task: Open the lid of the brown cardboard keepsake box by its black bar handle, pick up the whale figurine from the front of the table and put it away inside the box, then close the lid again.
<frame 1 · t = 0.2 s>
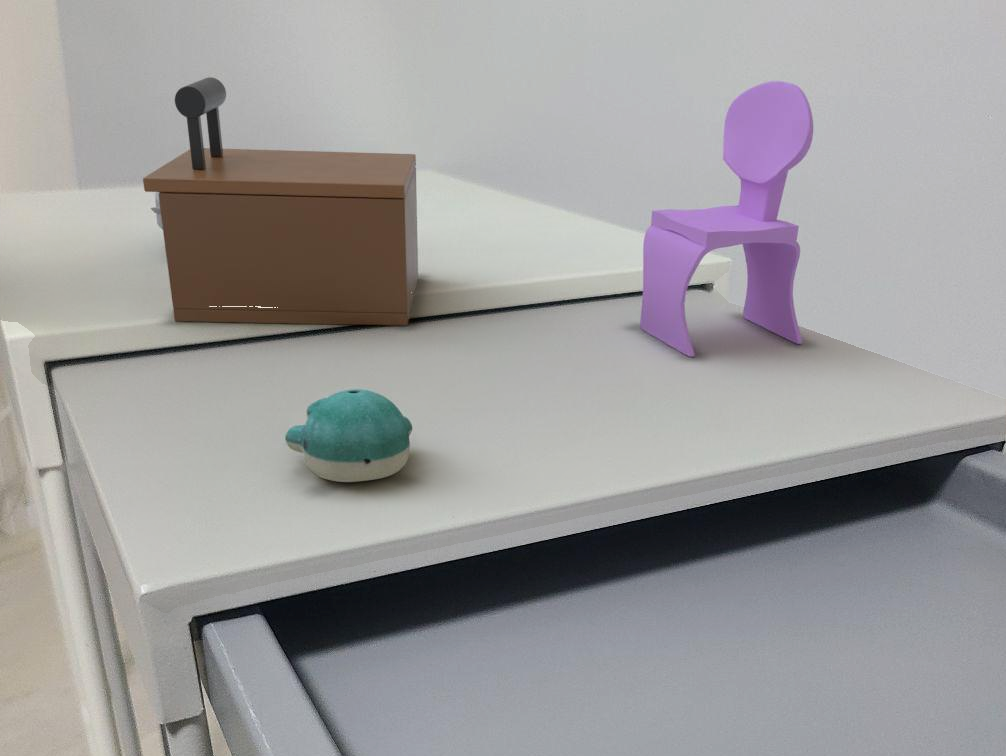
toy chair: (716, 339, 68), on the cabinet
shoebox: (305, 297, 73), on the cabinet
shoebox lid: (288, 132, 68), point 11 cm above the cabinet, hinge at 0.0°
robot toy: (258, 247, 86), on the cabinet
whale figurine: (351, 462, 50), on the cabinet
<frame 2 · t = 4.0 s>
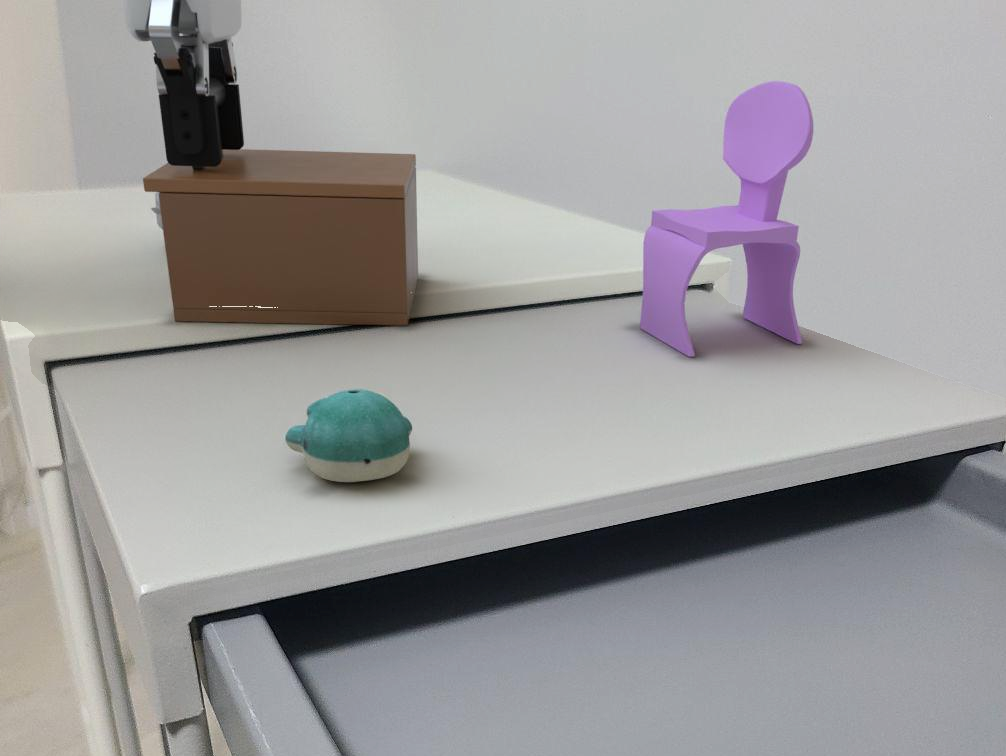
hand: (207, 153, 68), 9 cm above the cabinet, tool pointing down, fingers closed on shoebox lid, 6 cm apart
shoebox lid: (288, 132, 68), point 11 cm above the cabinet, hinge at 0.0°, touching gripper
everything else where it was.
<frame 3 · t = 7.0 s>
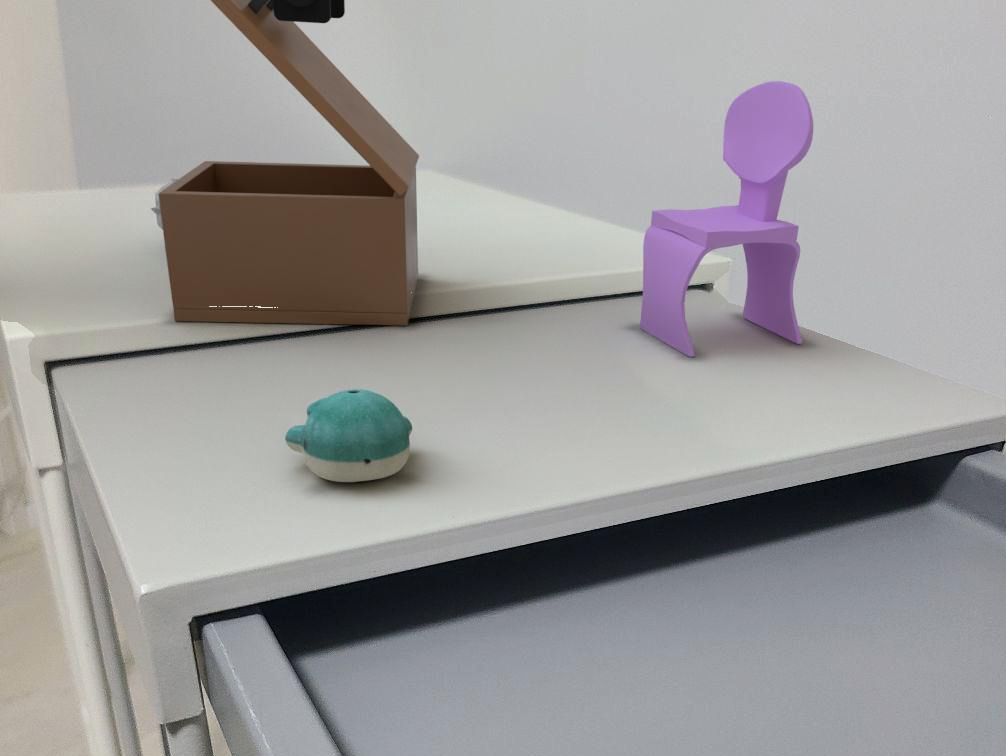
hand: (311, 16, 65), 17 cm above the cabinet, tool pointing down, fingers closed on shoebox lid, 6 cm apart
shoebox lid: (347, 52, 66), point 15 cm above the cabinet, hinge at 45.3°, touching gripper
everything else where it was.
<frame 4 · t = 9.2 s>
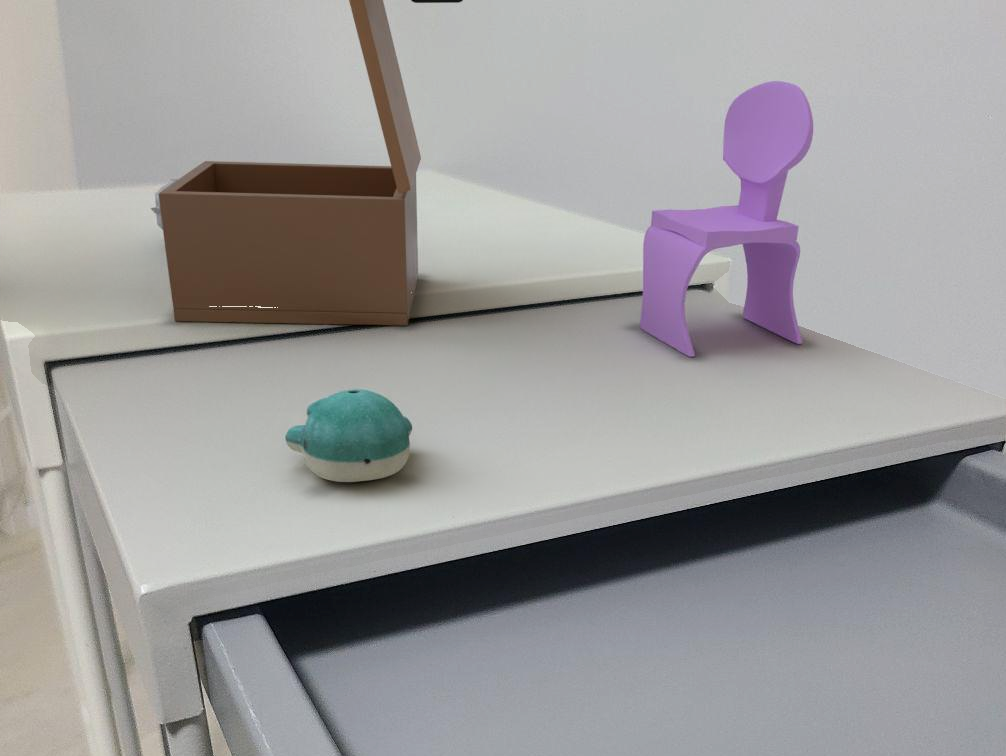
shoebox lid: (416, 38, 66), point 16 cm above the cabinet, hinge at 76.7°, touching gripper
everything else where it was.
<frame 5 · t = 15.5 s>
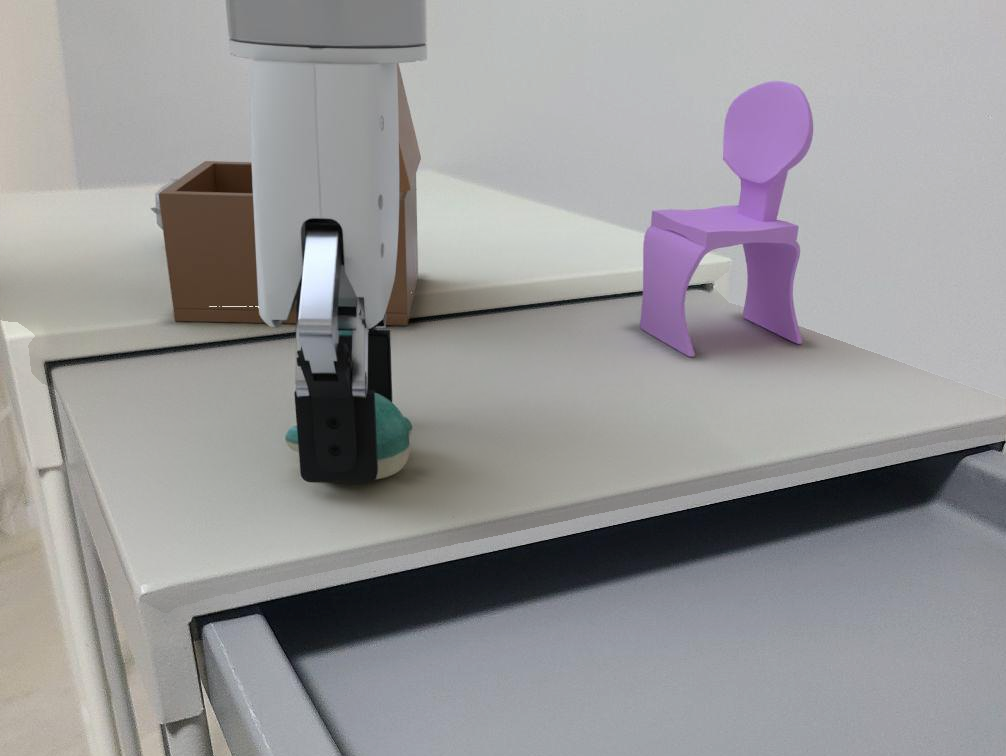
hand: (350, 440, 49), 1 cm above the cabinet, tool pointing down, fingers closed on whale figurine, 7 cm apart
shoebox lid: (417, 38, 66), point 16 cm above the cabinet, hinge at 76.9°
whale figurine: (351, 462, 50), on the cabinet, touching gripper
everything else where it was.
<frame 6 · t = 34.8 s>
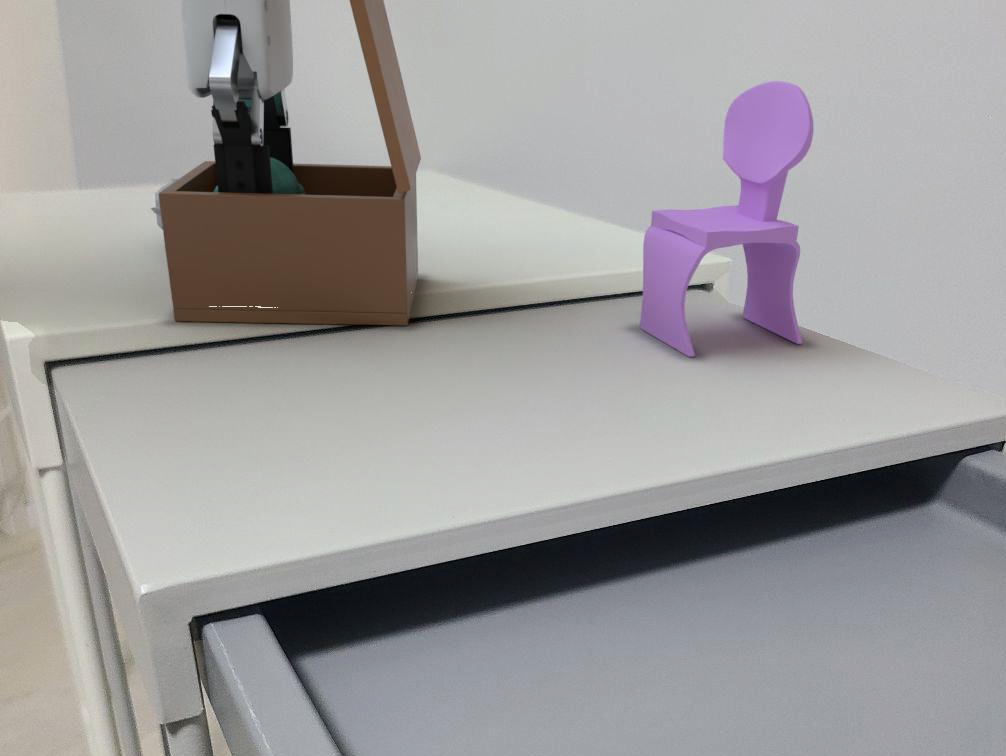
hand: (259, 198, 70), 6 cm above the cabinet, tool pointing down, fingers closed on whale figurine, 7 cm apart
whale figurine: (261, 216, 70), point 5 cm above the cabinet, touching gripper
everything else where it was.
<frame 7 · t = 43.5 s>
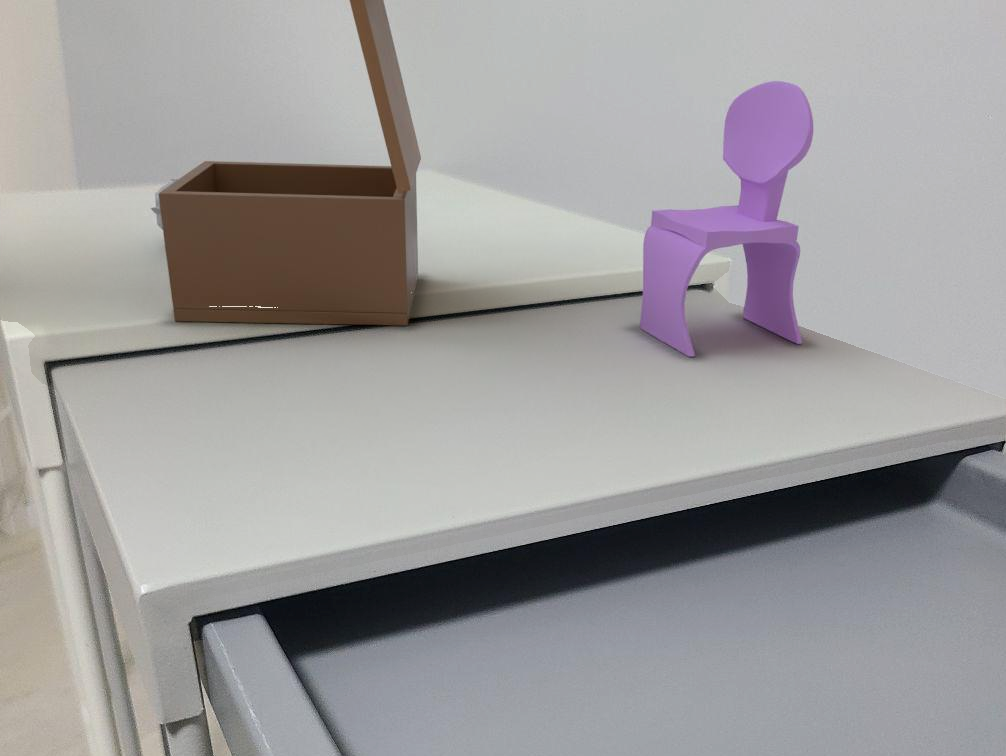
shoebox lid: (417, 38, 66), point 16 cm above the cabinet, hinge at 76.9°, touching gripper
whale figurine: (266, 288, 72), point 1 cm above the cabinet, touching shoebox
everything else where it was.
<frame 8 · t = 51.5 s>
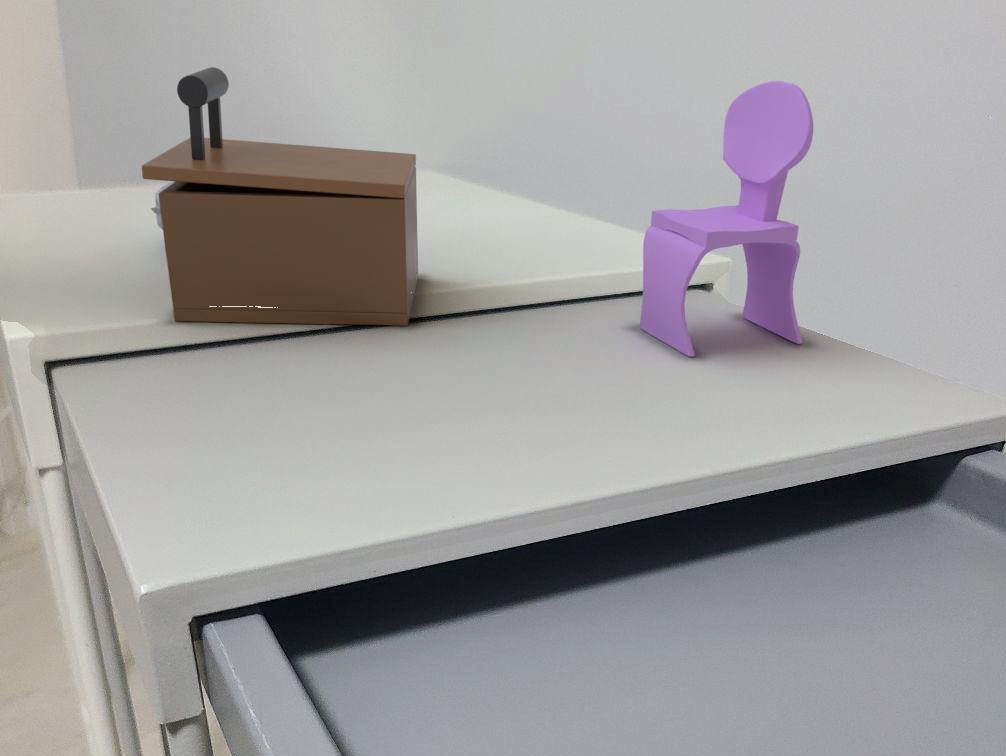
shoebox lid: (289, 126, 68), point 11 cm above the cabinet, hinge at 2.7°
everything else where it was.
at the end: shoebox lid reached +77° during the clip, +3° at the end; whale figurine inside the target area in the shoebox (2.6 cm from its centre), point 0.6 cm above the shoebox's base; shoebox lid at +3° (first picture: +0°) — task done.
